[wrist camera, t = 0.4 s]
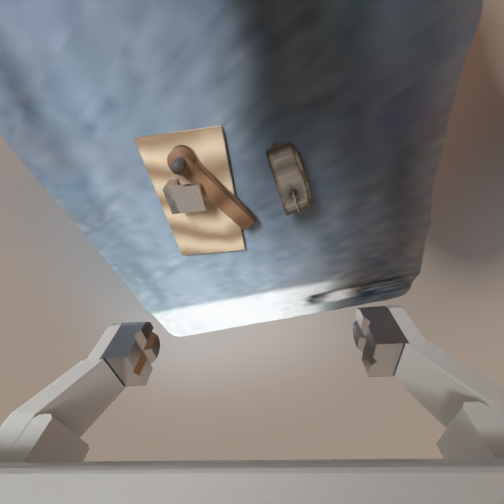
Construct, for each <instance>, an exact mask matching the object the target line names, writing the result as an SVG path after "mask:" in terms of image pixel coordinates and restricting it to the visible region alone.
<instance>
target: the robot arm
mask: <svg viewBox="0 0 504 504" xmlns="http://www.w3.org/2000/svg"><path fill="white" fill-rule="evenodd" d="M355 317H356V319H357V321H356V322H355V323H354V325H353V335H354V340H355V343H356V346H357V348H358V349H359V350H360V351H361V352H363V356H362V361H363V364H364V366H365V369H366V371H367V374H368V376H369V377H373V376H374V377H376V376H377V377H384V376H394V378H395V379H396V380H397V381H398V382H399V383H400V384H401V385H402V386H403V387H404V388H405V389H406V390H407V391H408V392H409V393H410V394H411V395H412V396H413V397H414V398H415V399H417V400H418V401H419V402H420V403H421V404H422V405H423V406H424V407H425V408H426V409H427V410H428V411H429V412H430V413H431V414H432V415H434V417H436V419H438V420H439V421H440V422H441V423H442V424H443V425H444V426H445V427H446V429H445V430H444V432H443V433H442V435H441V436H440V438H439V439H438V441H437V446H438V448H439V450H440V452H441V454H442V456H443V459H333V460H332V459H331V460H330V459H328V460H327V459H326V460H211V461H210V460H207V461H100V462H99V461H94V462H93V461H91V462H83V461H84V458H85V457H86V454H87V452H88V450H89V446H88V444H87V443H86V442H84V441H83V440H82V439H81V438H80V437H81V436H82V435H83V434H84V433H85V431H86V430H87V429H88V428H89V427H90V426H91V425H92V424H93V423H94V422H95V421H96V419H97V418H98V417H99V416H100V415H101V414H102V413H103V412H104V411H105V410H106V408H107V407H108V406H109V405H110V404H111V403H112V402H113V401H114V400H115V399H116V397H117V396H118V395H119V394H120V393H121V392H122V391H123V390H124V389H125V387H128V386H143V385H146V384H147V381H148V379H149V376H150V374H151V371H152V365H151V363H152V362H153V361H154V360H155V359H156V358H157V356H158V354H159V349H160V341H159V338H158V336H157V335H156V334H155V333H153V332H152V330H153V326H152V324H151V323H150V322H136V323H135V322H134V323H113V324H111V325H110V326H109V327H108V328H107V330H106V331H105V333H104V334H103V336H102V337H101V339H100V340H99V342H98V343H97V345H96V346H95V348H94V349H93V351H92V352H91V354H90V355H89V357H88V358H87V360H82V361H81V362H80V363H78V364H77V365H76V366H74V367H73V368H71V369H70V370H69V371H67V372H66V373H65V374H63V375H62V376H61V377H59V378H58V379H57V380H55V381H54V382H53V383H51V384H50V385H49V386H47V387H46V388H44V389H43V390H42V391H40V392H39V393H38V394H36V395H35V396H34V397H32V398H31V399H30V400H28V401H27V402H26V403H24V404H23V405H22V406H21V407H19V408H18V409H17V410H15V411H14V412H12V413H11V414H10V415H9V417H8V418H7V419H6V420H5V422H4V423H3V424H2V425H1V427H0V504H504V387H502V386H501V385H499V384H497V383H496V382H494V381H493V380H491V379H489V378H488V377H486V376H485V375H483V374H481V373H480V372H478V371H477V370H475V369H473V368H472V367H470V366H468V365H467V364H465V363H464V362H462V361H461V360H459V359H457V358H456V357H454V356H452V355H451V354H449V353H448V352H446V351H445V350H443V349H441V348H440V347H438V346H437V345H435V344H433V343H427V342H426V340H425V339H424V337H423V336H422V334H421V333H420V331H419V330H418V329H417V327H416V326H415V324H414V323H413V322H412V320H411V318H410V317H409V316H408V314H407V313H406V311H405V310H404V308H403V307H402V306H400V305H395V306H379V307H367V308H357V309H356V312H355Z"/></svg>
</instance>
